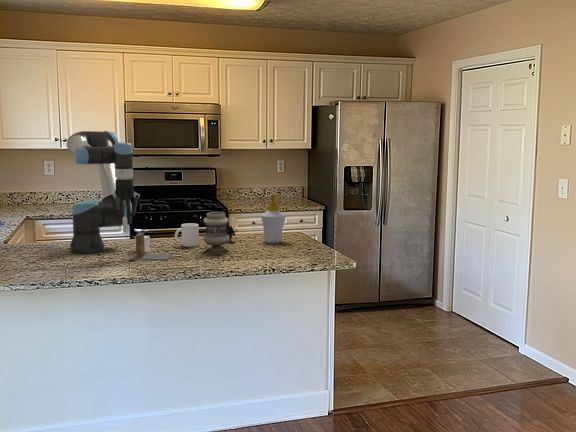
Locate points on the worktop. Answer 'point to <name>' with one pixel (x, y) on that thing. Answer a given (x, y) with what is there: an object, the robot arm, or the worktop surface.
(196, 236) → the mug
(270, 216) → the soap bottle
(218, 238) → the apothecary jar
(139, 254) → the walnut slab
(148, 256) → the rubber mat
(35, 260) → the worktop surface
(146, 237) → the white cup
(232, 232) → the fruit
